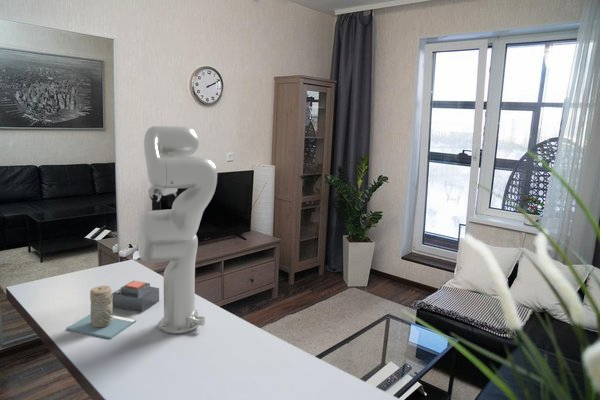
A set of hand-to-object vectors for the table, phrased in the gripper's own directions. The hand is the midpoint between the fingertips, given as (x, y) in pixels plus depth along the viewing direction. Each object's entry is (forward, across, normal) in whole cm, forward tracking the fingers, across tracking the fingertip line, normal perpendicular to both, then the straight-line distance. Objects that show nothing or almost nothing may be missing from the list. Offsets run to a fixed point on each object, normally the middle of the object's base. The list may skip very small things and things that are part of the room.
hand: (164, 209), depth 156 cm
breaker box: (+32, -12, +4) cm, 35 cm away
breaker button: (+27, -12, +4) cm, 30 cm away
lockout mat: (+32, -29, +4) cm, 44 cm away
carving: (+32, -29, +4) cm, 43 cm away
